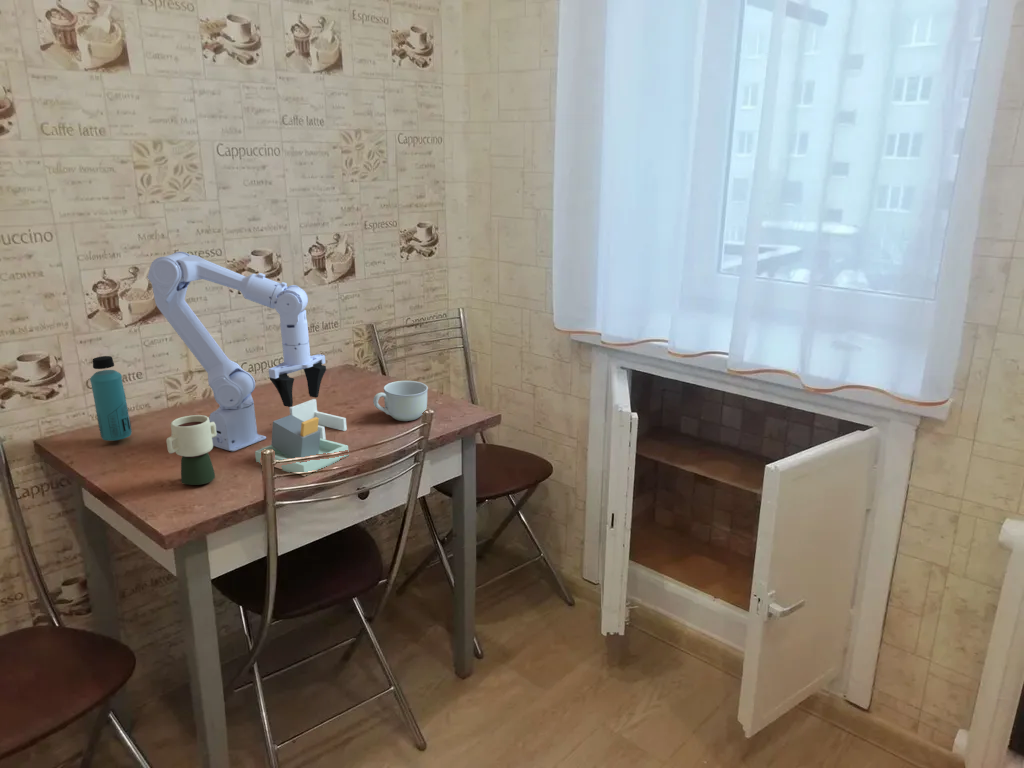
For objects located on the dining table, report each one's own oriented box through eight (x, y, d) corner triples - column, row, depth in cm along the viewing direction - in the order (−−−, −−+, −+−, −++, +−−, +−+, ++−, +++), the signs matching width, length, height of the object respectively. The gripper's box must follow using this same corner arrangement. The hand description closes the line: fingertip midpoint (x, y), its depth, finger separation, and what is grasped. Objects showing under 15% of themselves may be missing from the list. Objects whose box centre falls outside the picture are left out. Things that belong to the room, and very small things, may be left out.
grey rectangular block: (300, 462, 154) (303, 425, 151) (271, 445, 158) (273, 408, 155) (318, 455, 158) (321, 418, 155) (289, 438, 162) (292, 402, 159)
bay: (323, 440, 168) (320, 415, 166) (291, 431, 173) (289, 407, 172) (346, 430, 174) (344, 406, 172) (315, 422, 179) (313, 398, 178)
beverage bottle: (128, 446, 165) (113, 360, 159) (96, 448, 164) (80, 361, 158) (137, 435, 171) (123, 352, 166) (107, 437, 170) (92, 354, 164)
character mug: (209, 468, 153) (201, 409, 149) (233, 475, 150) (225, 415, 146) (163, 488, 144) (153, 426, 140) (186, 496, 141) (177, 432, 137)
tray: (304, 477, 149) (303, 465, 148) (256, 462, 156) (254, 451, 155) (348, 456, 159) (348, 445, 158) (301, 443, 166) (300, 432, 166)
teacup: (420, 407, 190) (419, 377, 187) (435, 420, 180) (433, 389, 178) (367, 415, 184) (365, 385, 182) (379, 429, 175) (377, 397, 172)
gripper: (282, 352, 153) (288, 413, 157) (332, 337, 165) (337, 395, 169) (259, 347, 157) (266, 407, 161) (310, 334, 169) (315, 390, 173)
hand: (301, 401), depth 165 cm, fingers open, 7 cm apart
